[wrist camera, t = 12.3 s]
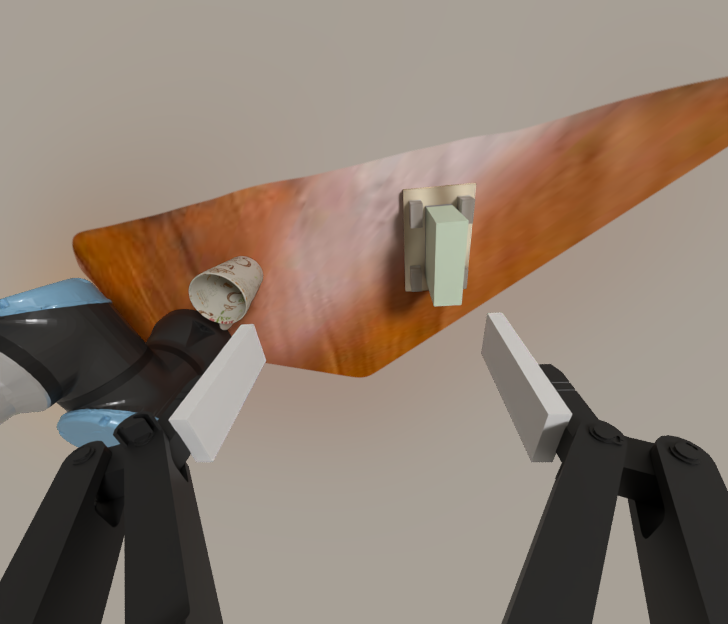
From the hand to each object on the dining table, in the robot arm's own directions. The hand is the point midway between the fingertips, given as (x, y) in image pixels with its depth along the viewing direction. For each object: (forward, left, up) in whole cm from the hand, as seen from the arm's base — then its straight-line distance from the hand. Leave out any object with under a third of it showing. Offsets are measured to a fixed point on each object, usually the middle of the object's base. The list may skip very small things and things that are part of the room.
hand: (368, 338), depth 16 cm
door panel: (+9, -5, -31) cm, 32 cm away
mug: (-24, -10, -32) cm, 41 cm away
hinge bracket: (+9, -5, -32) cm, 33 cm away
